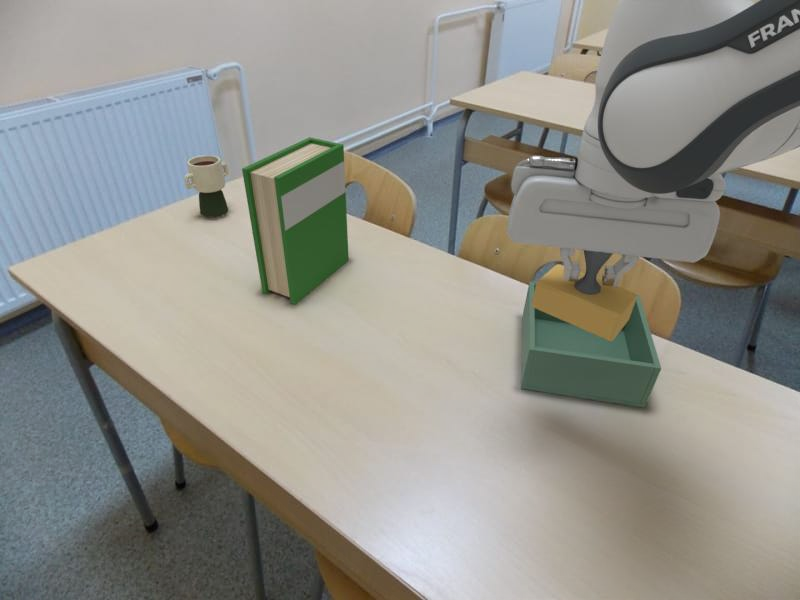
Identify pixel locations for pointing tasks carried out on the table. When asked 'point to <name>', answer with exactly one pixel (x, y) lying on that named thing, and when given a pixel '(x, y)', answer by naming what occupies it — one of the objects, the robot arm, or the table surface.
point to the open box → (588, 358)
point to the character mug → (208, 183)
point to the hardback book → (298, 216)
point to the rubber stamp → (585, 298)
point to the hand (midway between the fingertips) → (589, 281)
